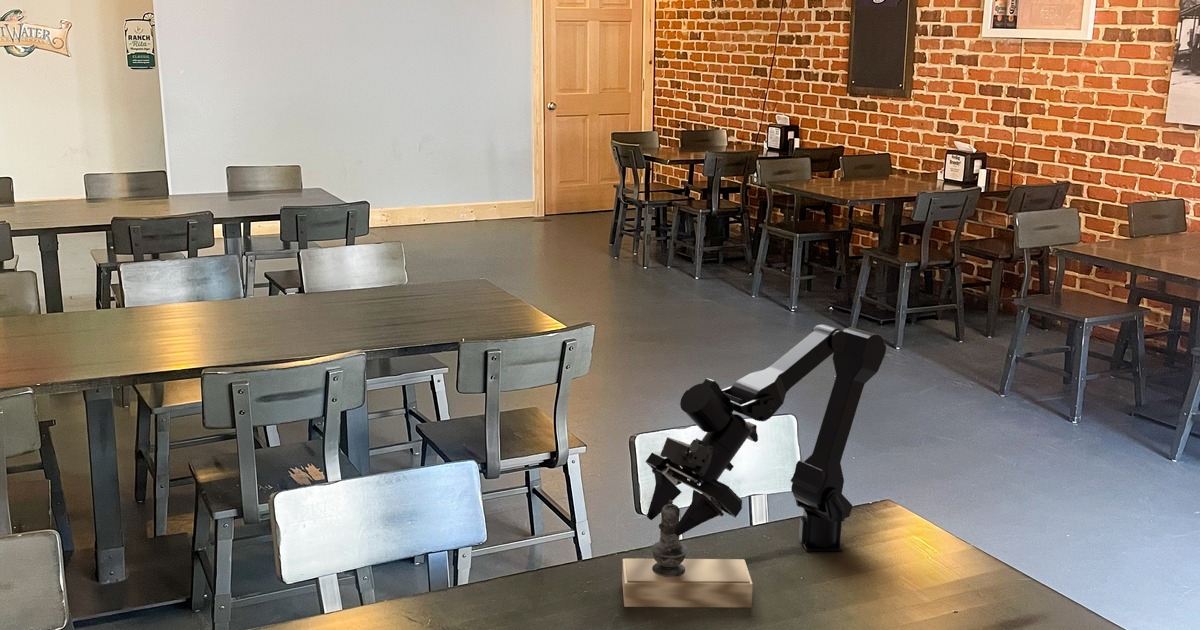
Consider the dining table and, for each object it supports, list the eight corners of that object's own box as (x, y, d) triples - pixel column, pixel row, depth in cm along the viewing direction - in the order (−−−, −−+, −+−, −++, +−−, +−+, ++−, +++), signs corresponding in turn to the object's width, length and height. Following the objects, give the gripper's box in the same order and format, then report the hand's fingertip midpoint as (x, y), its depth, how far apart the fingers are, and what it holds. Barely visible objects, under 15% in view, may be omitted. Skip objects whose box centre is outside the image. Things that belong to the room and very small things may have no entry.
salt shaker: (660, 557, 176) (662, 489, 173) (693, 566, 173) (695, 497, 170) (643, 572, 171) (645, 501, 168) (676, 581, 168) (679, 510, 165)
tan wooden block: (743, 581, 177) (744, 558, 176) (751, 607, 169) (752, 582, 168) (622, 581, 177) (622, 557, 176) (624, 606, 168) (624, 581, 167)
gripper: (656, 403, 176) (599, 480, 172) (731, 437, 161) (670, 522, 157) (692, 440, 182) (637, 515, 178) (767, 475, 167) (710, 558, 163)
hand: (662, 526), depth 169 cm, fingers open, 7 cm apart
